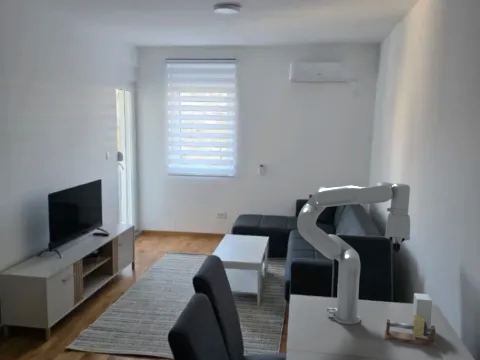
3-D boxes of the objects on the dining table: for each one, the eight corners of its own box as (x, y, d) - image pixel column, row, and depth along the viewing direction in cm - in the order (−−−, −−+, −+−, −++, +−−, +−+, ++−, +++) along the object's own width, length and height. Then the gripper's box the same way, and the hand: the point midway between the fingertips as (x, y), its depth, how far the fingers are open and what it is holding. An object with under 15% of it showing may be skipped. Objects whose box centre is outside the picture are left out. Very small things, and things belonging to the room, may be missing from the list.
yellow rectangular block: (413, 335, 188) (414, 319, 187) (412, 330, 193) (413, 314, 192) (423, 336, 187) (424, 321, 186) (422, 331, 192) (423, 316, 191)
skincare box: (430, 334, 197) (433, 301, 194) (414, 333, 198) (417, 299, 196) (426, 326, 205) (429, 293, 203) (411, 324, 206) (413, 292, 204)
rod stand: (385, 339, 191) (386, 321, 190) (384, 333, 197) (386, 315, 196) (435, 347, 186) (437, 328, 185) (433, 340, 192) (435, 322, 190)
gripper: (381, 211, 197) (378, 251, 200) (417, 214, 193) (414, 256, 195) (381, 208, 204) (378, 247, 207) (416, 211, 200) (413, 251, 202)
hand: (396, 251), depth 201 cm, fingers closed
